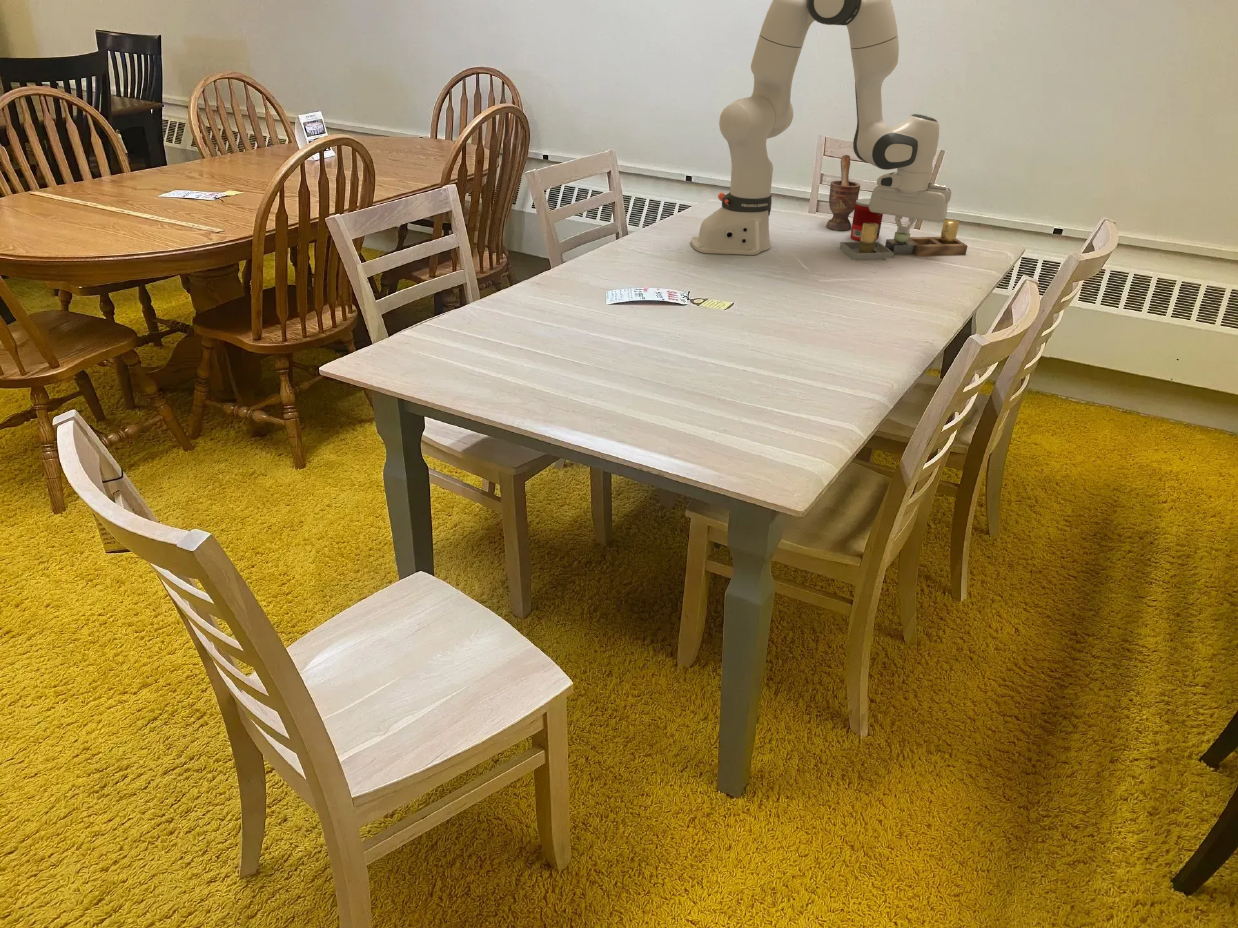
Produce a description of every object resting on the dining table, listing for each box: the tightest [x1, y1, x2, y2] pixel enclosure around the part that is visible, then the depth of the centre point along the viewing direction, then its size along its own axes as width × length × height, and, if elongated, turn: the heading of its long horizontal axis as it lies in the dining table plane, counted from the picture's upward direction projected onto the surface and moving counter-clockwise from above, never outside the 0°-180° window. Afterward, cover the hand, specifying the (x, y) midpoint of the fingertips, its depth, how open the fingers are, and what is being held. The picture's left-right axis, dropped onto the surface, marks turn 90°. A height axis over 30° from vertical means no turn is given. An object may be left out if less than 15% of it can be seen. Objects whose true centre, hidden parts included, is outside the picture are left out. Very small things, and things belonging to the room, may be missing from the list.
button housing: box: [884, 238, 916, 256], centre depth 229 cm, size 6×6×4 cm
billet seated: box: [939, 218, 960, 244], centre depth 228 cm, size 4×4×8 cm
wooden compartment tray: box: [909, 236, 968, 257], centre depth 230 cm, size 14×9×4 cm, turn 96°
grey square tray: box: [839, 240, 895, 261], centre depth 228 cm, size 11×11×2 cm
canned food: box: [850, 198, 884, 242], centre depth 239 cm, size 8×8×11 cm
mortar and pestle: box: [826, 154, 861, 232], centre depth 249 cm, size 12×9×20 cm
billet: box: [858, 222, 878, 253], centre depth 226 cm, size 4×4×8 cm
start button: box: [893, 231, 911, 244], centre depth 228 cm, size 4×4×5 cm
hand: (902, 233), depth 226 cm, fingers closed, pressing on start button
